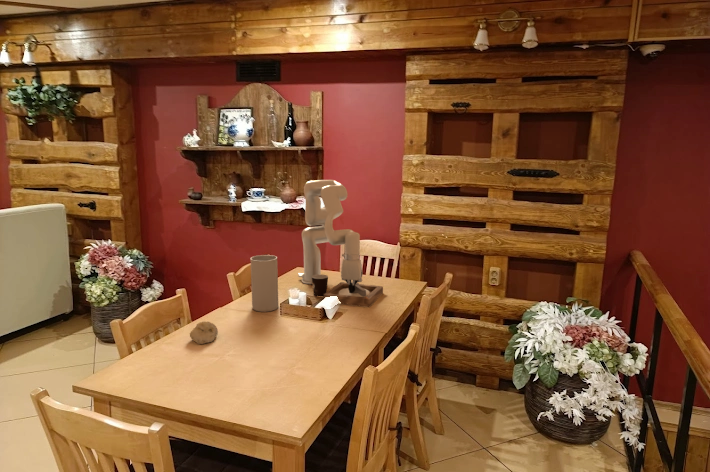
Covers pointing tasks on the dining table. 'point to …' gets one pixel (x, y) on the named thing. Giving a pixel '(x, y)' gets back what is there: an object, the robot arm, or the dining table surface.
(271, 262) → the cylinder vase
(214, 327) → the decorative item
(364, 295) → the dial
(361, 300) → the dial housing
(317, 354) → the dining table surface
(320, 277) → the coffee mug
